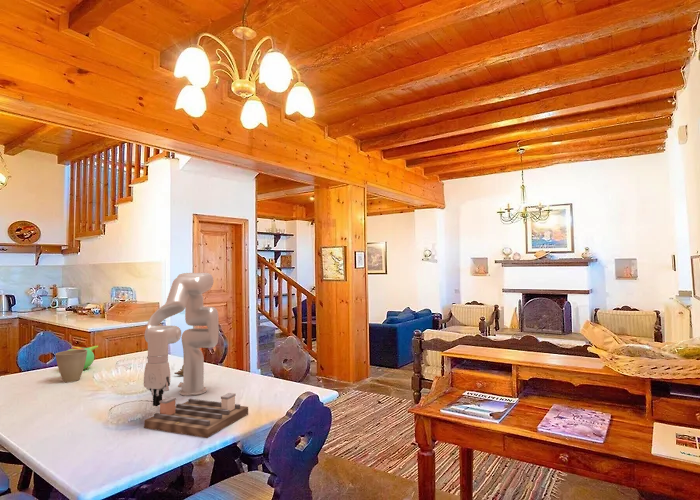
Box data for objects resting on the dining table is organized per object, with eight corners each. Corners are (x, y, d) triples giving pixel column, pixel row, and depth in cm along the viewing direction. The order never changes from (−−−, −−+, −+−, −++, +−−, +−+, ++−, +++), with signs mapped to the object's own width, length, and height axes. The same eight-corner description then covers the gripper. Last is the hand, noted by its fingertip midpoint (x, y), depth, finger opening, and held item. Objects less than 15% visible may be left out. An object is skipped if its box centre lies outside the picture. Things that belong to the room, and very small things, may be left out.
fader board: (143, 427, 161) (144, 415, 161) (190, 406, 185) (190, 396, 186) (207, 437, 151) (207, 424, 151) (248, 413, 175) (248, 402, 175)
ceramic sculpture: (199, 361, 238) (173, 363, 238) (200, 376, 238) (173, 378, 237) (205, 357, 249) (180, 359, 248) (206, 371, 249) (180, 374, 248)
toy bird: (54, 372, 251) (54, 348, 252) (76, 366, 268) (77, 343, 269) (80, 373, 248) (80, 348, 249) (101, 366, 265) (101, 343, 266)
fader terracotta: (159, 416, 164) (159, 400, 164) (169, 411, 169) (169, 396, 169) (166, 417, 163) (166, 401, 163) (176, 412, 168) (176, 397, 168)
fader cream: (220, 411, 168) (220, 396, 169) (228, 407, 174) (228, 392, 174) (227, 412, 167) (227, 397, 168) (235, 408, 172) (235, 393, 173)
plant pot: (80, 375, 243) (80, 348, 243) (91, 379, 234) (92, 351, 235) (50, 381, 230) (51, 352, 231) (61, 385, 222) (61, 355, 222)
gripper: (136, 360, 168) (135, 406, 167) (165, 362, 163) (164, 409, 162) (151, 356, 175) (150, 400, 174) (179, 358, 170) (178, 404, 169)
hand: (157, 404), depth 168 cm, fingers closed
